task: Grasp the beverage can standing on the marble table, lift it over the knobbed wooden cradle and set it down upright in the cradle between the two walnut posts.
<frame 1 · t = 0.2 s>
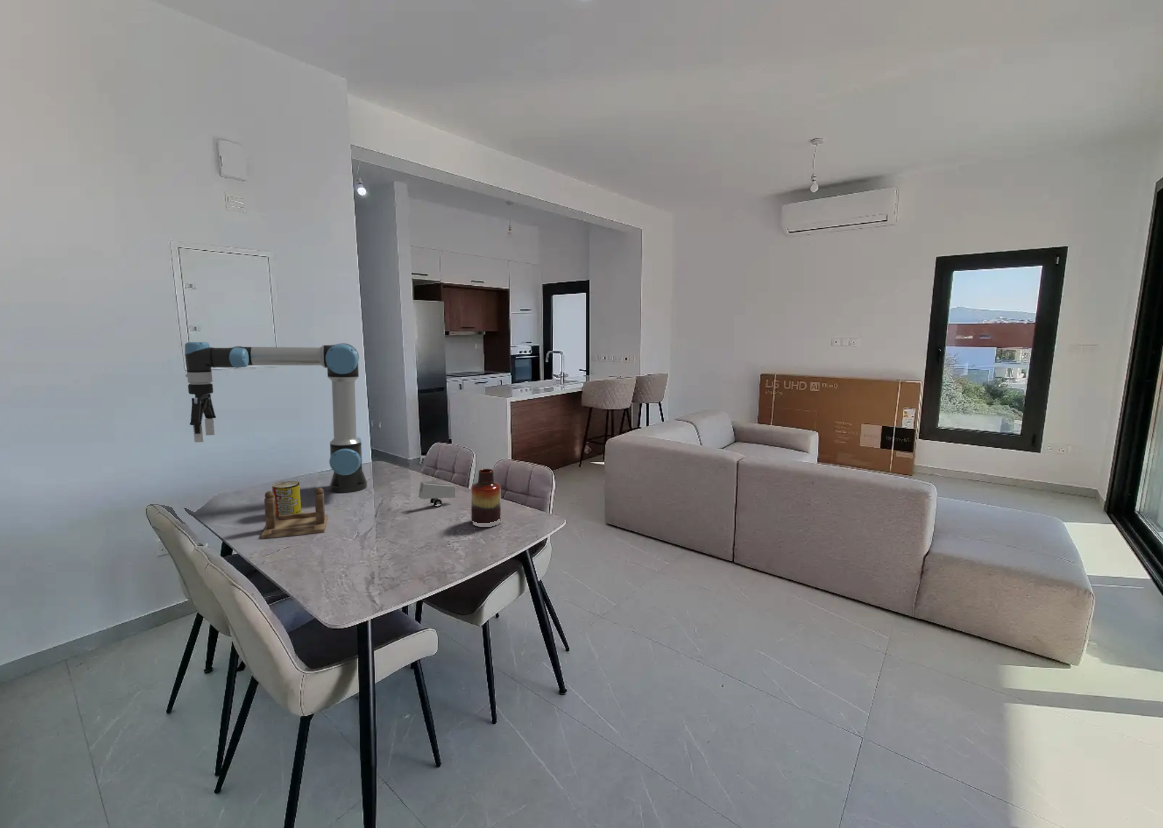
hand: (205, 438, 196), 28 cm above the table, fingers open, 13 cm apart
grey toy trailer: (419, 494, 204), point 6 cm above the table
beverage can: (287, 514, 196), on the table
knobbed wooden cradle: (296, 527, 183), on the table
vase: (486, 523, 193), on the table
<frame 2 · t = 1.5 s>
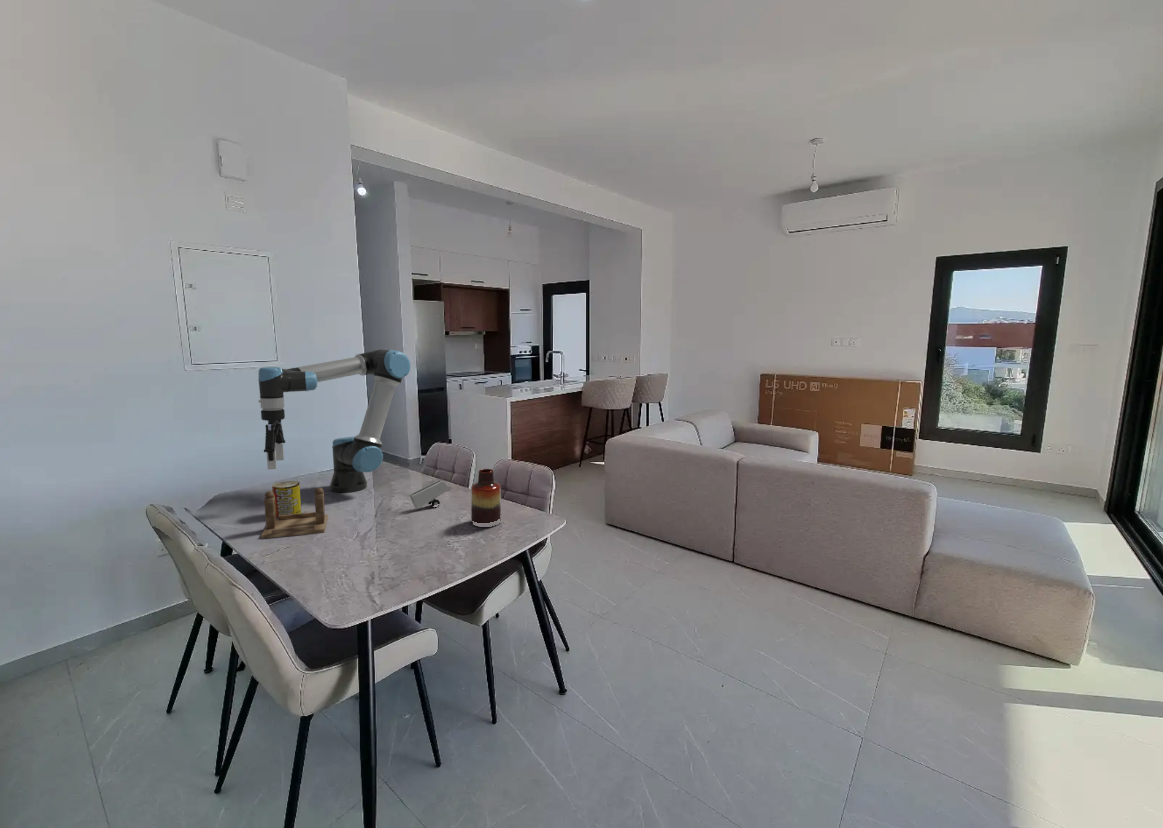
hand: (276, 464, 193), 19 cm above the table, fingers open, 13 cm apart
grey toy trailer: (414, 506, 204), point 2 cm above the table
everything else where it was.
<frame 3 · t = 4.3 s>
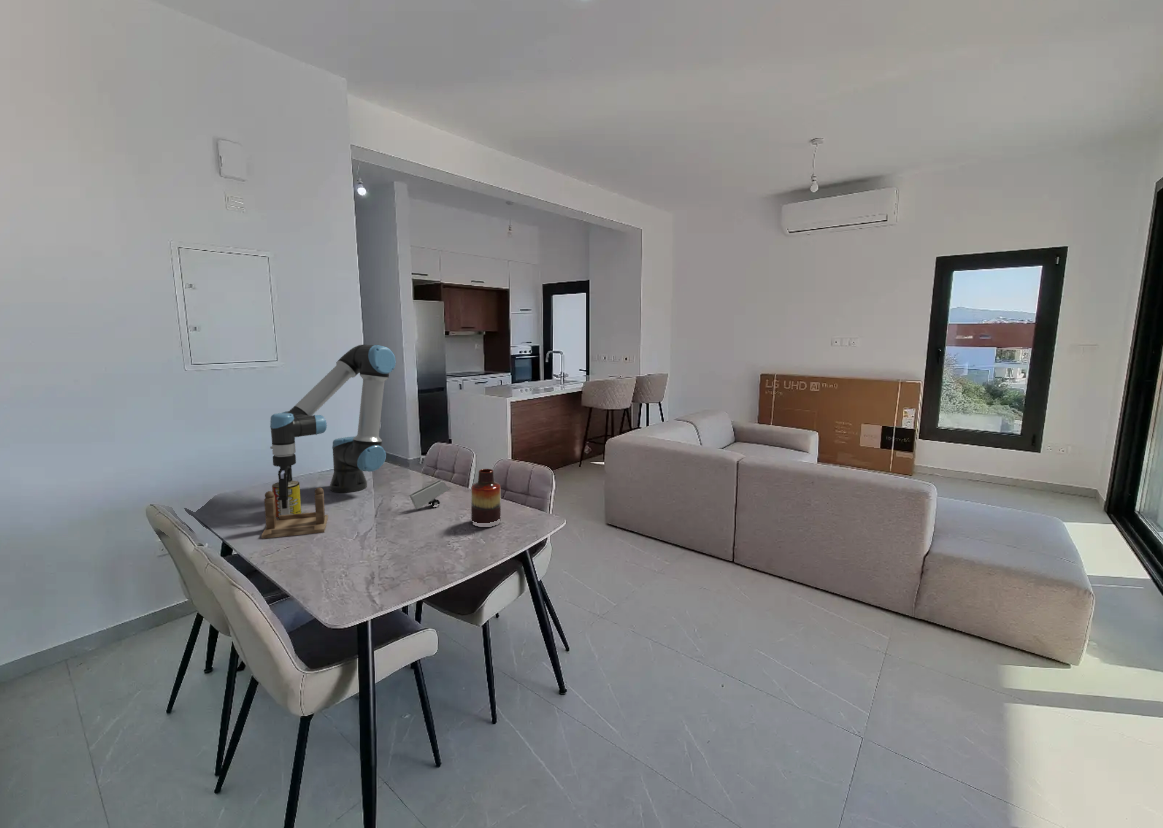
hand: (287, 511, 196), 1 cm above the table, fingers closed on beverage can, 9 cm apart
beverage can: (287, 514, 196), on the table, touching gripper
everything else where it was.
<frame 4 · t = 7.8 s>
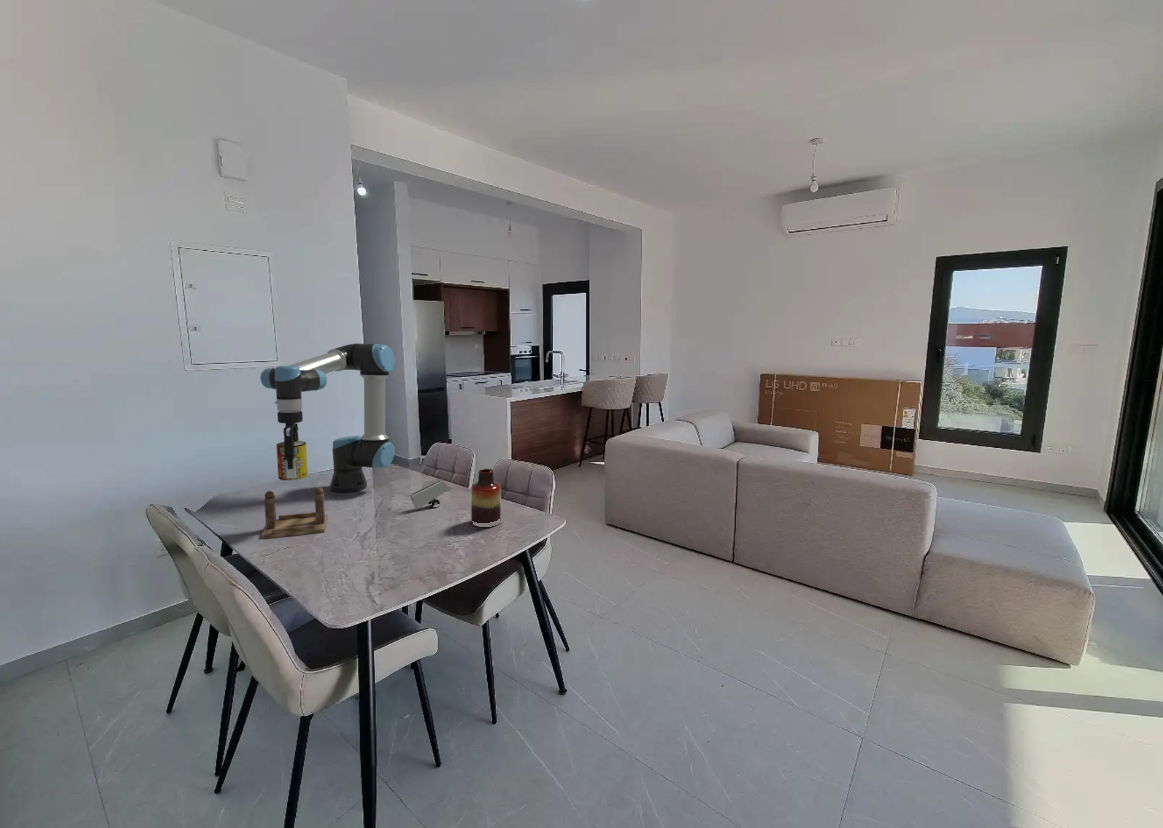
hand: (293, 474, 180), 20 cm above the table, fingers closed on beverage can, 9 cm apart
beverage can: (293, 477, 180), point 19 cm above the table, touching gripper
everything else where it was.
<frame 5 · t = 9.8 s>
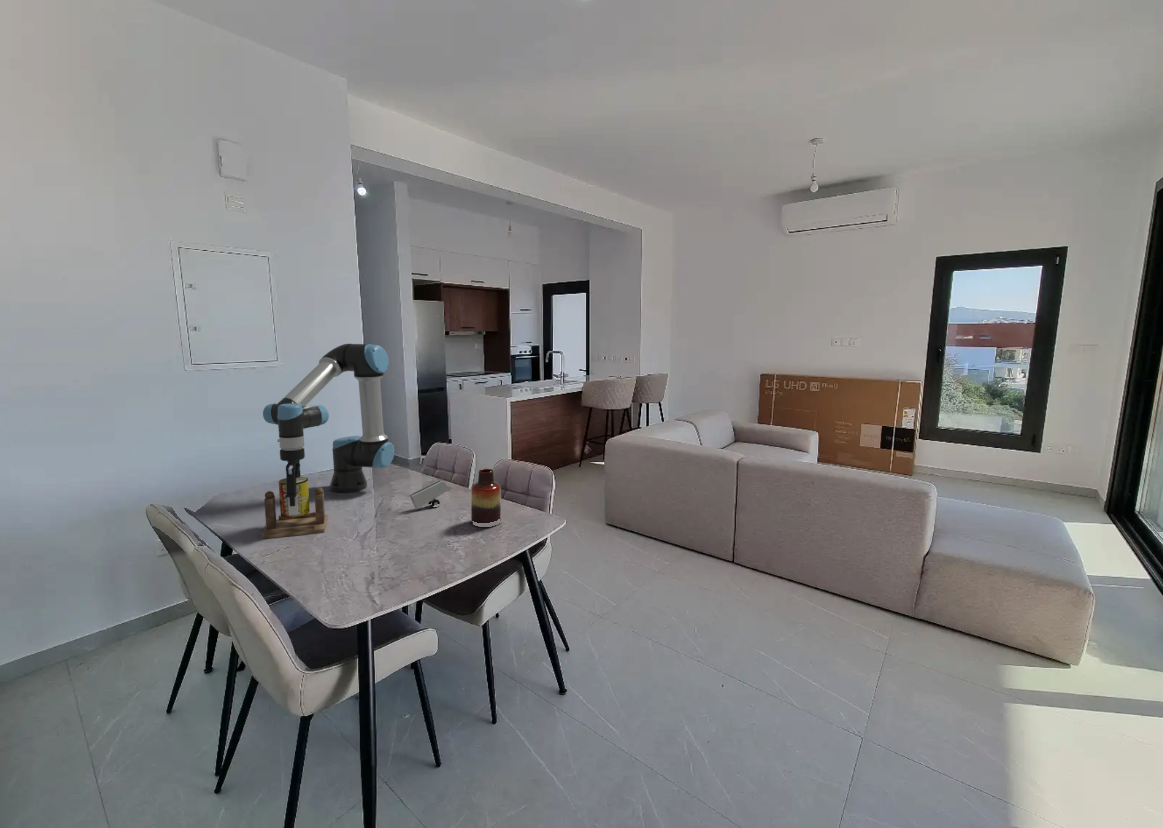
hand: (295, 510, 182), 7 cm above the table, fingers closed on beverage can, 9 cm apart
beverage can: (295, 513, 182), point 5 cm above the table, touching gripper
everything else where it was.
when the fingers open (4 cm above the table, at t = 11.4 s): beverage can drops 1 cm, resting on knobbed wooden cradle.
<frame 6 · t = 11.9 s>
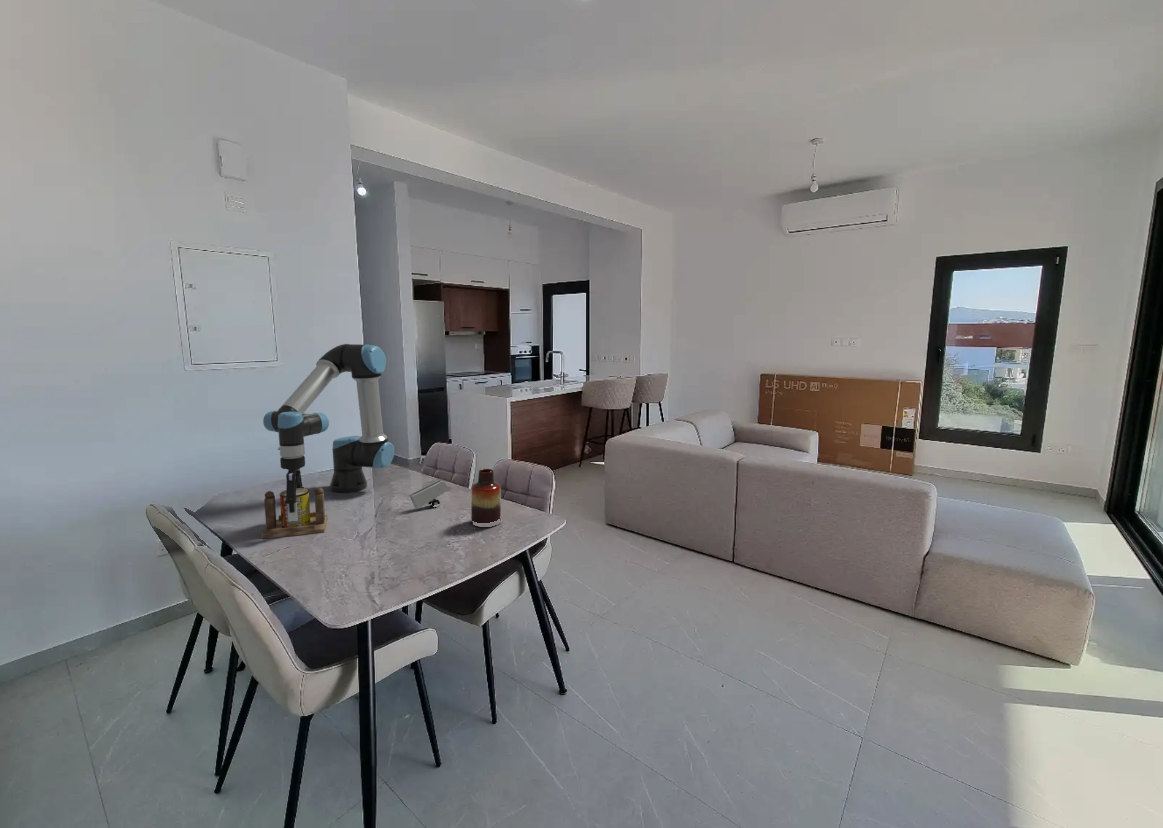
hand: (295, 514, 182), 5 cm above the table, fingers open, 13 cm apart
beverage can: (296, 525, 183), point 1 cm above the table, touching knobbed wooden cradle
everything else where it was.
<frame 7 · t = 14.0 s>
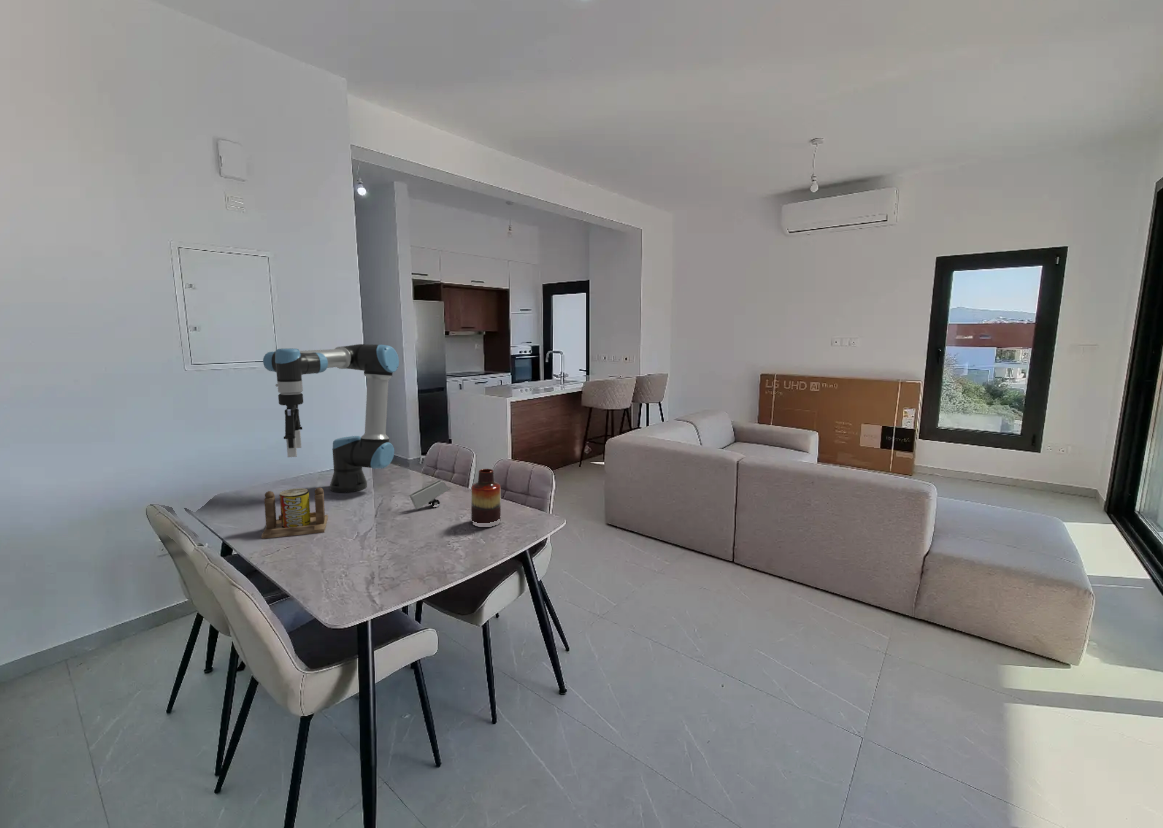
hand: (294, 452, 182), 27 cm above the table, fingers open, 13 cm apart
nothing on the table moved.
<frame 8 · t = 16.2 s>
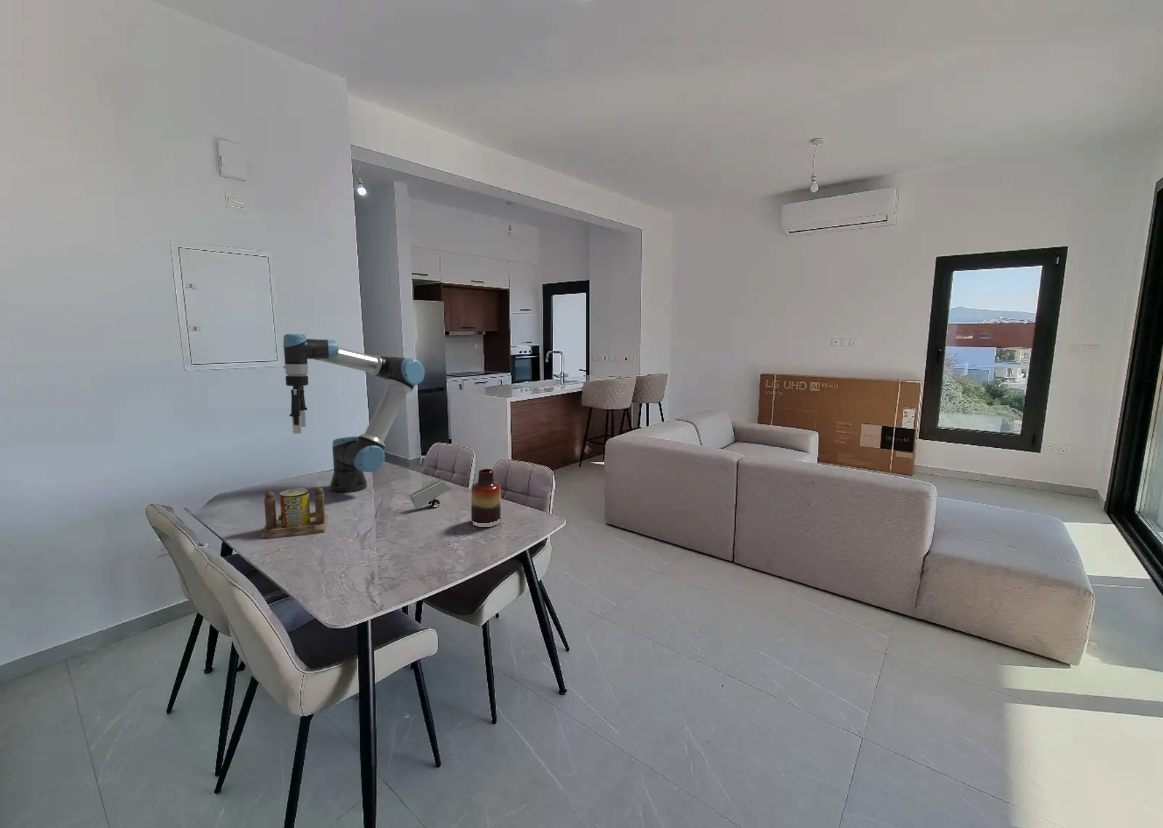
hand: (299, 430, 198), 32 cm above the table, fingers open, 13 cm apart
nothing on the table moved.
at the end: beverage can inside the target area on the knobbed wooden cradle (0.1 cm from its centre), point 1.0 cm above the knobbed wooden cradle's base; beverage can tilted 0°; the gripper is holding nothing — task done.
